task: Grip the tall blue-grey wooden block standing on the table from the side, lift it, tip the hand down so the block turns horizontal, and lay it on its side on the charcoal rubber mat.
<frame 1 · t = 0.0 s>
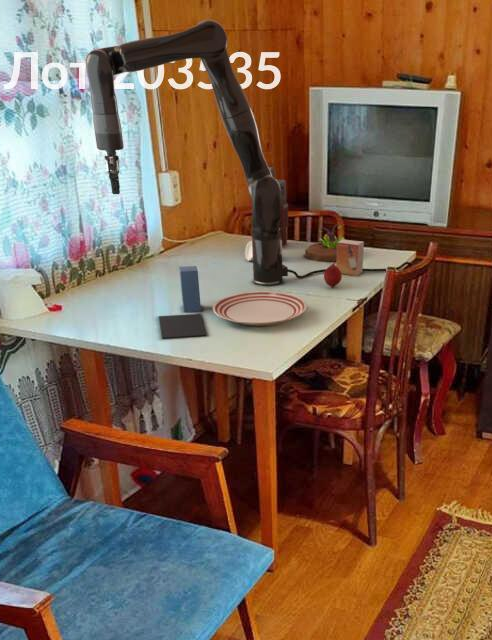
hand: (116, 191, 222), 29 cm above the table, tool pointing down, fingers open, 8 cm apart
toy vending machine: (275, 246, 289), on the table
onion: (332, 288, 244), on the table
mat: (182, 326, 209), on the table
plant: (333, 255, 278), on the table
blue block: (191, 309, 222), on the table
small box: (349, 273, 259), on the table
dinner plate: (260, 316, 218), on the table
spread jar: (262, 260, 271), on the table
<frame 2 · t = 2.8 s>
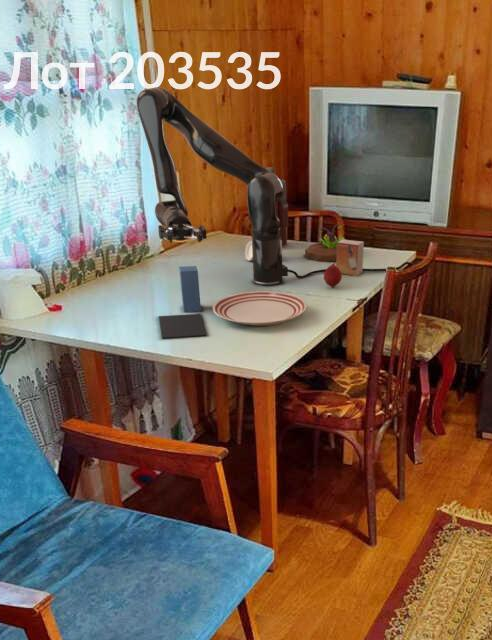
hand: (185, 238, 221), 18 cm above the table, tool horizontal, fingers open, 8 cm apart
nothing on the table moved.
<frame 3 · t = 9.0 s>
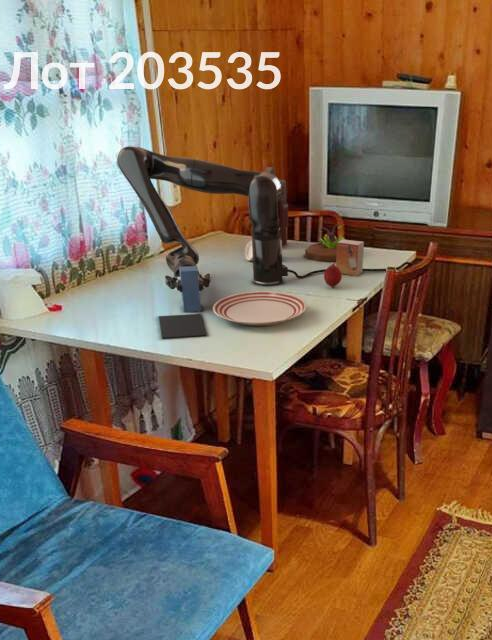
hand: (190, 288, 216), 7 cm above the table, tool horizontal, fingers closed on blue block, 5 cm apart
blue block: (192, 309, 222), on the table, touching gripper
everything else where it was.
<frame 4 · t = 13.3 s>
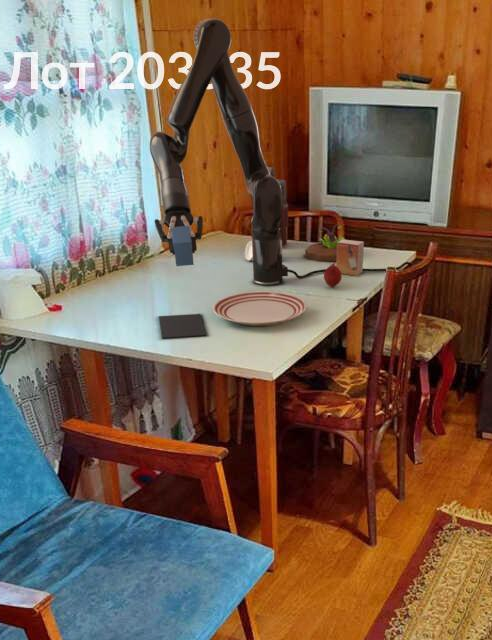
hand: (183, 252, 209), 18 cm above the table, tool tilted 45°, fingers closed on blue block, 5 cm apart
blue block: (183, 257, 216), point 14 cm above the table, tilted 45°, touching gripper
everything else where it was.
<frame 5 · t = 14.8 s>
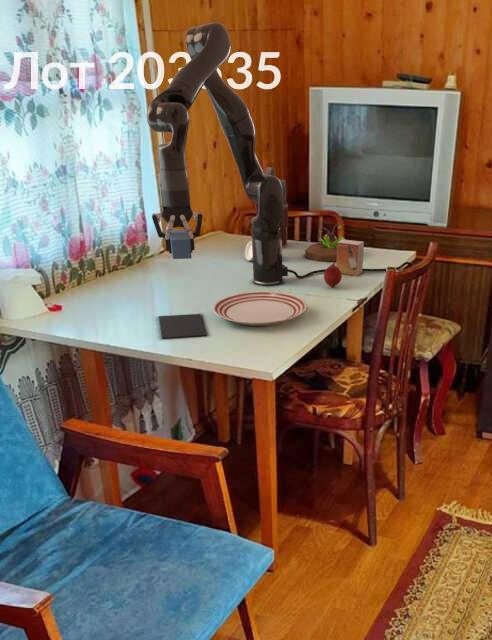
hand: (180, 252, 206), 18 cm above the table, tool pointing down, fingers closed on blue block, 5 cm apart
blue block: (181, 249, 199), point 21 cm above the table, tilted 90°, touching gripper
everything else where it was.
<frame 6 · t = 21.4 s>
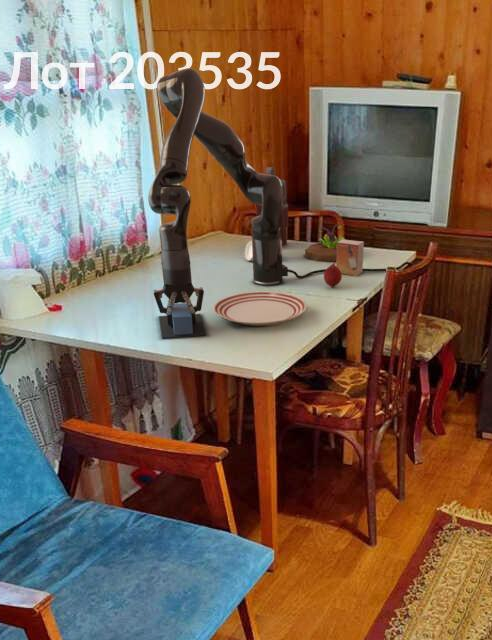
hand: (182, 325, 208), 1 cm above the table, tool pointing down, fingers closed on blue block, 5 cm apart
blue block: (183, 325, 201), point 3 cm above the table, tilted 90°, touching gripper
everything else where it was.
when the fingers open (2 cm above the table, at t = 31.1 s): blue block drops 2 cm, resting on mat.
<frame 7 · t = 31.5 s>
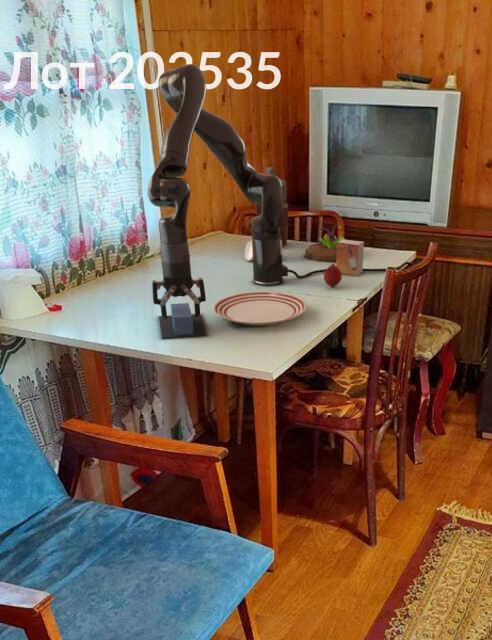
hand: (181, 317, 207), 3 cm above the table, tool pointing down, fingers open, 8 cm apart
blue block: (183, 326, 201), point 3 cm above the table, tilted 90°, touching mat
everything else where it was.
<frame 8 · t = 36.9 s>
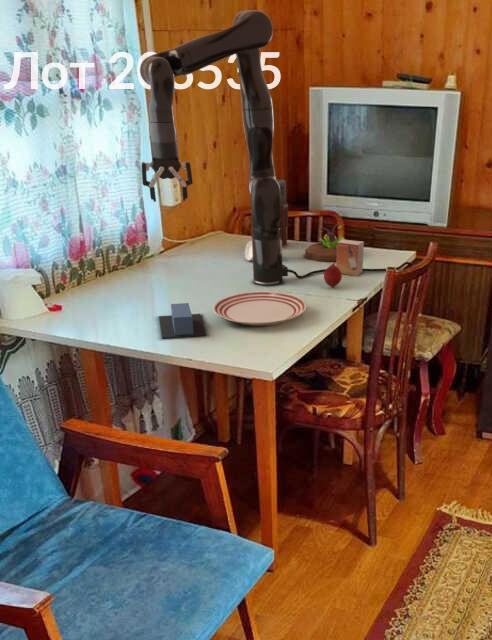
hand: (169, 200, 218), 28 cm above the table, tool pointing down, fingers open, 8 cm apart
nothing on the table moved.
at the end: blue block tilted 90°; blue block inside the target area on the mat (8.1 cm from its centre), point 2.9 cm above the mat's base; the gripper is holding nothing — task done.
